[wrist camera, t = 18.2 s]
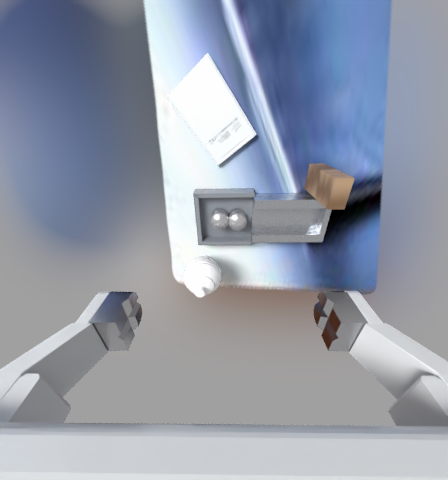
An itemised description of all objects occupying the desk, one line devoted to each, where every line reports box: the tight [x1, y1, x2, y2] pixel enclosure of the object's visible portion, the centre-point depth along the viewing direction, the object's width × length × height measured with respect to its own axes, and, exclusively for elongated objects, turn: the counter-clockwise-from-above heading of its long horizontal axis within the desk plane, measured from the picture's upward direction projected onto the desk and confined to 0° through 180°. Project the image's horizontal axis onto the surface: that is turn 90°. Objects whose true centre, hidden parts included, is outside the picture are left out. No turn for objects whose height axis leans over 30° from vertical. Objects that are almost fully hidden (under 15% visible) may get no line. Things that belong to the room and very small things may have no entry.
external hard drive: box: [167, 53, 257, 166], centre depth 32 cm, size 2×8×12 cm
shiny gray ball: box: [211, 208, 229, 230], centre depth 39 cm, size 3×3×3 cm
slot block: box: [251, 193, 332, 243], centre depth 39 cm, size 9×14×4 cm, turn 91°
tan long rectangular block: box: [305, 164, 354, 209], centre depth 32 cm, size 4×2×10 cm, turn 1°
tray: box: [193, 188, 255, 245], centre depth 40 cm, size 11×11×3 cm
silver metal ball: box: [228, 208, 247, 231], centre depth 39 cm, size 3×3×3 cm
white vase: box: [183, 255, 222, 297], centre depth 41 cm, size 8×8×12 cm
